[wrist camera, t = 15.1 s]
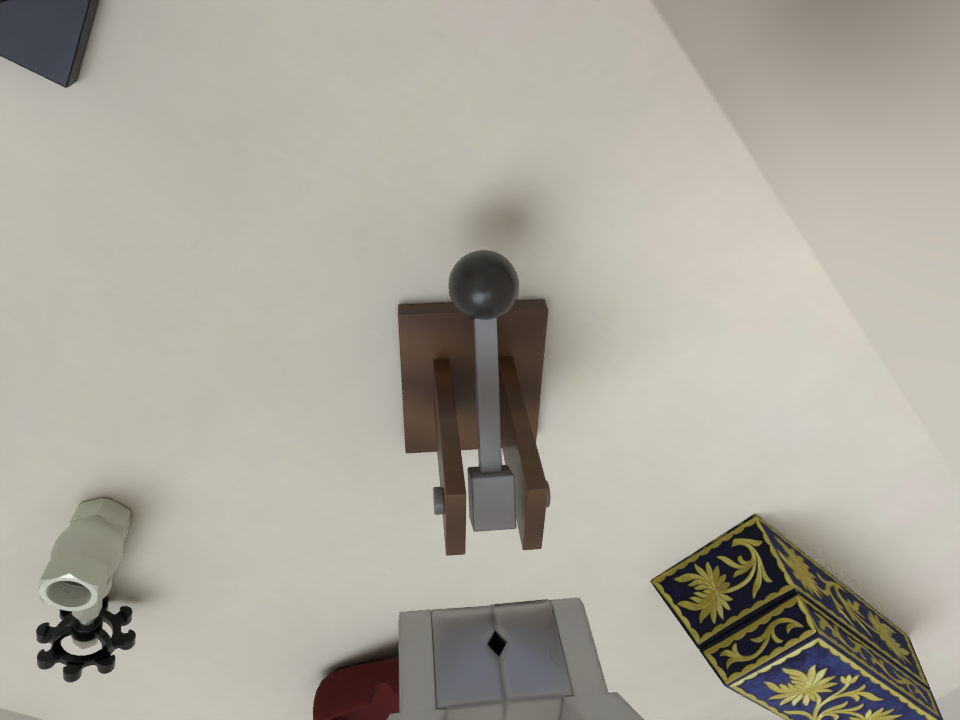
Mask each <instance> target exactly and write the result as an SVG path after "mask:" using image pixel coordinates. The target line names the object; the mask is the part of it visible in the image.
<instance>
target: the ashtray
mask: <svg viewBox="0 0 960 720" xmlns="http://www.w3.org/2000/svg"><path fill="white" fill-rule="evenodd" d="M395 713H400V708H399V656H398V657H393V658H389V659H384V660H379V661H375V662H370V663H364V664H359V665H354V666H350V667H349V666H348V667H342V668H339V669H337V670H336V671H334V672H333V673H330V674H329V675H328V676H326V677H325V678H324V679H323V680H322V681H321V683H320V685H319V687H318V689H317V691H316V695H315V699H314V706H313V720H387V719H388V717H389V715H390V714H395Z"/></svg>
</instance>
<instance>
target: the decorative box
mask: <svg viewBox="0 0 960 720" xmlns="http://www.w3.org/2000/svg"><path fill="white" fill-rule="evenodd" d="M650 582H651V583H652V585H653V586H654V587H655V589H656V590H657V592H658V593H659V594H660V596H661V597H662V599H663V600H664V601H665V603H666V604H667V606H668V607H669V608H670V610H671V611H672V613H673V614H674V615H675V617H676V618H677V620H678V621H679V622H680V624H681V625H682V627H683V628H684V630H685V631H686V632H687V634H688V635H689V637H690V638H691V639H692V641H693V642H694V644H695V645H696V646H697V648H698V649H700V650H699V651H700V652H701V653H702V655H703V656H704V658H705V659H706V660H707V662H708V663H709V665H710V666H711V667H712V669H713V670H714V672H715V673H716V674H717V676H718V677H719V679H720V680H721V681H722V683H723V684H724V686H725V687H727V688H729V689H731V690H733V691H734V692H736V693H738V694H740V695H742V696H743V697H745V698H747V699H749V700H751V701H753V702H754V703H756V704H758V705H760V706H762V707H763V708H765V709H767V710H769V711H771V712H772V713H774V714H776V715H778V716H780V717H781V718H783V719H785V720H943V718H942V716H941V713H940V711H939V709H938V706H937V704H936V701H935V699H934V696H933V694H932V692H931V690H930V687H929V684H928V682H927V679H926V677H925V675H924V672H923V670H922V667H921V665H920V662H919V660H918V658H917V655H916V653H915V650H914V648H913V645H912V643H911V641H910V638H909V636H907V635H906V634H905V633H904V632H902V631H901V630H900V629H899V628H897V627H896V626H895V625H894V624H892V623H891V622H890V621H889V620H887V619H886V618H885V617H884V616H882V615H881V614H880V613H878V612H877V611H876V610H875V609H873V608H872V607H871V606H870V605H868V604H867V603H866V602H865V601H863V600H862V599H861V598H860V597H858V596H857V595H856V594H855V593H853V592H852V591H851V590H850V589H848V588H847V587H846V586H844V585H843V584H842V583H841V582H839V581H838V580H837V579H836V578H834V577H833V576H832V575H831V574H829V573H828V572H827V571H826V570H824V569H823V568H822V567H821V566H819V565H818V564H817V563H816V562H814V561H813V560H812V559H810V558H809V557H808V556H807V555H805V554H804V553H803V552H802V551H800V550H799V549H798V548H797V547H795V546H794V545H793V544H792V543H790V542H789V541H788V540H787V539H785V538H784V537H783V536H781V535H780V534H779V533H778V532H776V531H775V530H774V529H773V528H771V527H770V526H769V525H768V524H766V523H765V522H764V521H763V520H761V519H760V518H759V517H758V516H756V515H753V516H752V517H750V518H749V519H747V520H745V521H744V522H742V523H741V524H739V525H738V526H736V527H735V528H733V529H731V530H730V531H728V532H727V533H725V534H724V535H722V536H720V537H719V538H717V539H716V540H714V541H713V542H711V543H710V544H708V545H706V546H705V547H703V548H702V549H700V550H699V551H697V552H696V553H694V554H692V555H691V556H689V557H688V558H686V559H685V560H683V561H681V562H680V563H678V564H677V565H675V566H674V567H672V568H671V569H669V570H667V571H666V572H664V573H663V574H661V575H660V576H658V577H657V578H655V579H653V580H652V581H650Z"/></svg>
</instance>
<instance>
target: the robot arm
mask: <svg viewBox="0 0 960 720" xmlns="http://www.w3.org/2000/svg"><path fill="white" fill-rule="evenodd" d="M399 708H400V713H395V714H390V715H389V717H388V719H387V720H644V719H643V718H642V717H641V716H640V715H639V714H638V713H637V712H636V711H635V710H634V709H633V708H632V707H631V706H630V705H629V704H628V703H627V702H626V701H625V700H624V699H623V698H622V697H621V696H620V695H619V694H618V693H617V692H614V693H608V690H607V686H606V683H605V679H604V676H603V672H602V668H601V665H600V661H599V658H598V654H597V650H596V647H595V643H594V640H593V636H592V632H591V629H590V625H589V622H588V618H587V615H586V611H585V607H584V604H583V602H582V601H581V600H580V598H578V597H575V598H565V599H555V600H548V599H545V600H535V601H524V602H514V603H504V604H494V605H490V606H479V607H465V608H450V609H436V610H431V612H430V610H418V611H406V612H400V614H399Z"/></svg>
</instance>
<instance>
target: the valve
mask: <svg viewBox="0 0 960 720" xmlns="http://www.w3.org/2000/svg"><path fill="white" fill-rule="evenodd" d="M130 520H131V511H130V510H129V509H127V508H126V507H124V506H123V505H121V504H119V503H117V502H115V501H113V500H110V499H106V498H101V499H94V500H90V501H87V502H84V503H81V504H79V505H78V507H77V509H76V511H75V513H74V515H73V517H72V519H71V526H69V527H68V528H67V529H66V530H64V531H63V532H62V533H61V534H60V536H59V537H58V538H57V540H56V541H55V543H54V546H53V548H52V551H51V559H50V562H49V564H48V566H47V567H46V569H45V571H44V573H43V575H42V577H41V579H40V586H39V593H40V598H41V600H42V601H44V602H45V603H47V604H49V605H51V606H53V607H55V608H58V609H59V610H60V618H61V619H62V621H61V622H60V623H59V624H58V625H57V627H51V626H49V623H48V622H47V623H43V624H41V625H39V626H38V628H37V630H36V636H37V641H38V642H39V643H48V642H49V643H51V649H50V650H49V651H46V652H45V651H44V649H42V650H41V651H40V652H39V653H38V655H37V665H38V667H39V668H40V669H49V668H51V667H52V666H54V664H55V663H58V662H60V663H63V664H65V665H66V667H64V668H63V678H64V680H65V681H67V682H74V681H76V680H78V679H79V678H80V677H81V674H82V669H83V668H84V667H86V666H90V665H96V666H97V669H98V671H99V672H100V673H103V674H106V673H109V672H111V671H112V670H113V669H114V667H115V655H112V656H111V654H112V652H113V651H114V650H115V649H117V648H121V649H122V650H128V649H131V648H132V647H133V646H134V644H135V638H136V634H135V632H134V631H133V630H130V629H129V631H128V633H122V632H121V627H122V626H125V625H127V624H129V623H130V622H131V620H132V609H131V608H130V607H128V606H123V607H120V611H119V612H118V613H117V614H115V615H114V614H112V613H111V612H109V611H107V609H108V600H109V599H108V597H107V594H108V593H109V592H110V590H111V587H112V574H113V573H114V572H115V570H116V569H117V568H118V566H119V564H120V562H121V560H122V557H123V552H124V541H125V539H126V536H127V534H128V531H129V529H130ZM103 621H104V622H106V623H107V624H108V625H109V626H110V627H111V629H112V632H113V634H112V637H110V636H109V635H108V633H107V632H106V631H105V630H103V629H102V628H103ZM69 635H71V636H72V639H73V643H74V644H75V645H76V646H78V647H79V648H81V649H85V648H89V647H91V646H94V645H96V644H97V642H98V639H99V640H100V642H101V643H102V649H101V650H99V651H97V652H95V653H93V654H90V655H85V656H77V655H72V654H70V653H68V652H66V651H65V650H64V649H63V647H62V646H61V640H62V639H63V638H65V637H67V636H69Z"/></svg>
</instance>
